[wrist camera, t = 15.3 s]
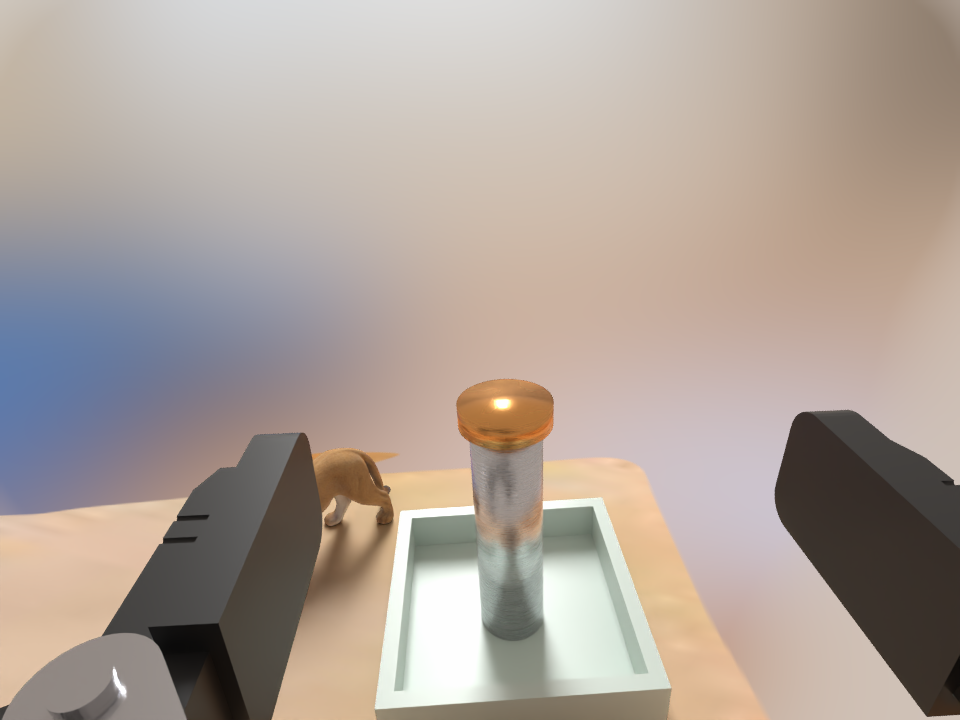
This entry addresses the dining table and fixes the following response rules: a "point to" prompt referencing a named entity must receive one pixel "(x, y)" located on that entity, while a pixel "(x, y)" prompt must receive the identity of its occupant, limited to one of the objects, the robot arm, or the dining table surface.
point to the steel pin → (508, 499)
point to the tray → (525, 663)
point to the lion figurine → (350, 483)
